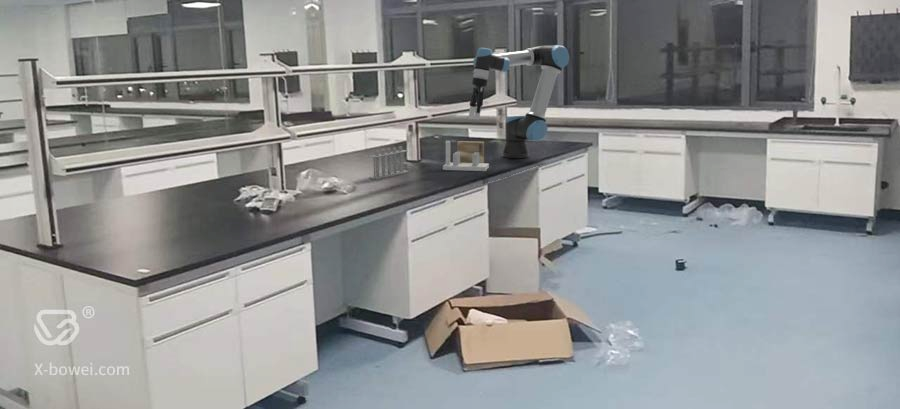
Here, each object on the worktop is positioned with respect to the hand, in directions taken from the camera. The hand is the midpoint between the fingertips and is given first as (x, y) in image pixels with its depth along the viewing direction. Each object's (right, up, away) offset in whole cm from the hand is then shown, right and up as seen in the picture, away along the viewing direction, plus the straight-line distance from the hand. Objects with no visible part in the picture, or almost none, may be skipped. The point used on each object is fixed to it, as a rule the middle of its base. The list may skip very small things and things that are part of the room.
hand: (473, 119), depth 393 cm
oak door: (-1, -23, +12) cm, 26 cm away
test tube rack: (-42, -30, -21) cm, 56 cm away
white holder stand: (-4, -26, -3) cm, 26 cm away
